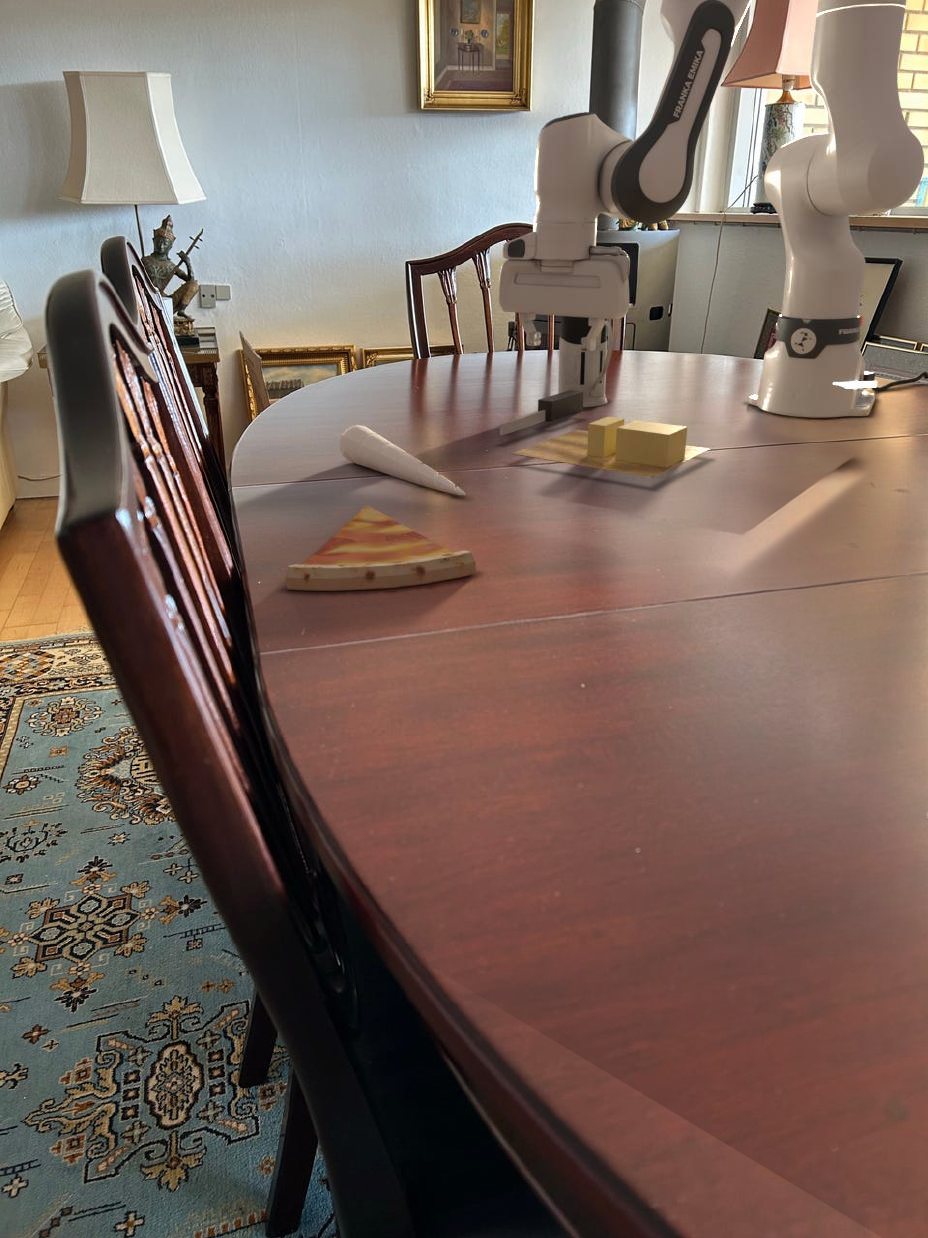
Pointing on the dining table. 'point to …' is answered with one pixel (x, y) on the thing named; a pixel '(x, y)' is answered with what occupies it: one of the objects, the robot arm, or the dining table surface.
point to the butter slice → (603, 436)
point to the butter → (650, 443)
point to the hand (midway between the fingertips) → (560, 347)
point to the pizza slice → (377, 558)
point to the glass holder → (584, 360)
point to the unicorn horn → (390, 459)
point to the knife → (548, 411)
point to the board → (575, 452)
